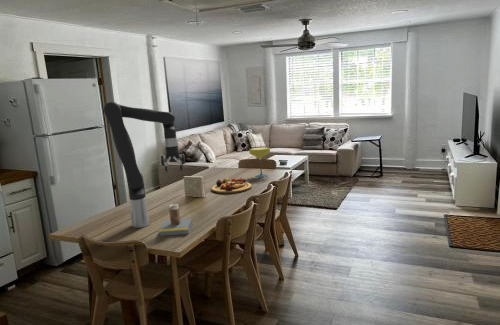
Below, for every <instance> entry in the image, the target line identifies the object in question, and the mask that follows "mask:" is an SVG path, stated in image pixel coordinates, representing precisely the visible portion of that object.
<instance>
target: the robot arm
mask: <svg viewBox="0 0 500 325" xmlns="http://www.w3.org/2000/svg"><path fill="white" fill-rule="evenodd" d="M103 114H104V115H105V117H106V119H107V121H108V124H109V126H110V130H111V133H112V139H113V143H114V146H115V149H116V152H117V155H118V158H119V160H120V162H121V164H122V166H123V169H124V171H125V172H124V173H125V177H126V182H127V187H128V198H129V204H130V210H131V211H130V220H131V227H132V228H137V229H138V228H144V227H147V226H149V225H150V219H149V213H148V211H149V210H148V204H147V203H148V202H147V199H146V198H147V197H146V189H145V182H144V175H143V174H142V173H141V172H140V169H139V166H138V164H137V160H136V154H135V149H134V148H135V147H134V146H133V142H132V139H131V137H130V134H129V132H128V130H127V128H126V126H125V122H124V120H123V118H127V119H135V120H138V121H144V122H150V123H151V122H152V123H160V124H162V127H163V135H164V147H165V148H164V149H165V155H164V154H162V155H161V156H160V162H161V166H163V167H164V171H165V172H166V173H168V172H169V163H176V162H177V163H178V164H179V169H180V170H179V171H180V172H183V170H184V165H185V164H186V158H185V154H184V153H181V154H180V153H179V152H180V151H179V143H178V138H177V131H176V128H175V120H176V117H175V115H174V114H173V113H172V112H170V111H162V110H161V111H159V110H156V109H150V108H149V109H148V108H143V107H142V108H140V107H131V106H126V105H123V104H119V103H117V102H115V101H110V102H107V103H105V105H104V106H103ZM165 158H166V162H165ZM180 158H181V159H180Z"/></svg>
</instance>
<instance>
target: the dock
mask: <svg viewBox="0 0 500 325" xmlns="http://www.w3.org/2000/svg"><path fill="white" fill-rule="evenodd" d="M180 221H181V222H180V224H179V225H171V220H170V219H167V220H164V221H163V222H162V224H161V225H160V227H159V228H158V229H159V230H158V232H159V236H161V237H163V236H176V235H178V236H179V235H189V234H190V232H191V230H192V227H193V219H192V218H180Z"/></svg>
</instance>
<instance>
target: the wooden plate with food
mask: <svg viewBox="0 0 500 325" xmlns="http://www.w3.org/2000/svg"><path fill="white" fill-rule="evenodd" d="M251 189H252V184H251V183H249V182H246V179H245V177H244V178H242V177H240V178H239V179H238V178H235V177H233V178H231V180H230V178H228V177H225V178H224V179H220V178H219V179H217V181H216V182H215V184H214V185H212V186H211V189H210V190H211V191H212V192H213V193H216V194H217V193H218V194H223V195H224V194H238V193H243V192H247V191H249V190H251Z"/></svg>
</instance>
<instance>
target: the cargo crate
mask: <svg viewBox="0 0 500 325" xmlns="http://www.w3.org/2000/svg"><path fill="white" fill-rule="evenodd" d="M179 206H180V205H179V203H171V204H169V206H168V209H169V210H168V211H169V217H170V219H169V220H171V225H179V224H180V222H181V221H180V219H181V215H180V207H179Z"/></svg>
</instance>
